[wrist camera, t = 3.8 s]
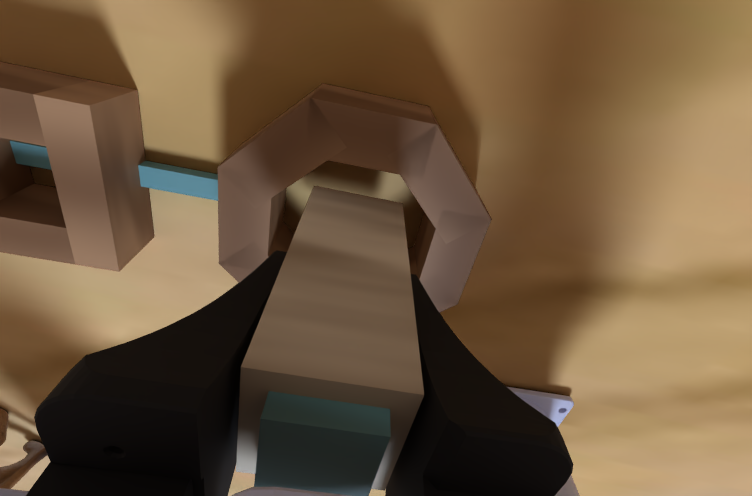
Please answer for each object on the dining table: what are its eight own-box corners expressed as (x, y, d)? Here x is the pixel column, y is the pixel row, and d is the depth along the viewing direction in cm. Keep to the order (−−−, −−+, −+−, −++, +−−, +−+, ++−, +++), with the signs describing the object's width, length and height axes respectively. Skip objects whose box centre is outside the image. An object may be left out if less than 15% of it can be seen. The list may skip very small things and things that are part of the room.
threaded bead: (154, 236, 19) (119, 271, 17) (4, 211, 19) (-57, 242, 16) (137, 89, 16) (89, 105, 13) (-50, 51, 15) (-139, 59, 12)
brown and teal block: (383, 275, 17) (384, 518, 9) (303, 260, 17) (227, 499, 8) (402, 203, 15) (427, 422, 7) (314, 185, 15) (230, 393, 7)
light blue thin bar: (225, 195, 18) (220, 201, 18) (-29, 148, 17) (-41, 152, 17) (225, 175, 18) (220, 180, 17) (-37, 125, 17) (-50, 129, 16)
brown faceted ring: (431, 311, 22) (438, 352, 19) (239, 279, 21) (219, 317, 18) (500, 121, 16) (522, 142, 14) (244, 65, 15) (216, 77, 13)
